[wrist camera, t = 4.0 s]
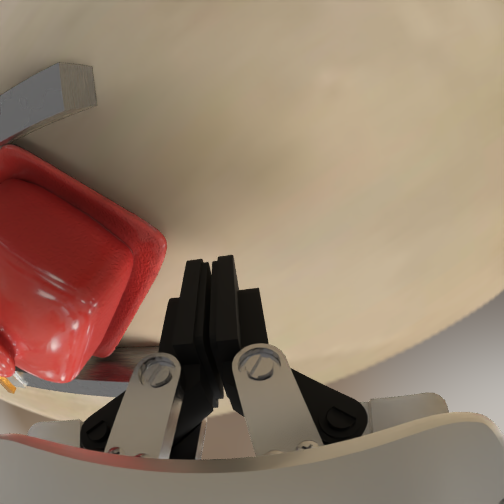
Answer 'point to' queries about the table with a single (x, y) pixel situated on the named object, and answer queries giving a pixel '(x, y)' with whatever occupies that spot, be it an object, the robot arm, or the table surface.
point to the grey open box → (22, 123)
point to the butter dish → (66, 269)
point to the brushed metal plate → (7, 385)
